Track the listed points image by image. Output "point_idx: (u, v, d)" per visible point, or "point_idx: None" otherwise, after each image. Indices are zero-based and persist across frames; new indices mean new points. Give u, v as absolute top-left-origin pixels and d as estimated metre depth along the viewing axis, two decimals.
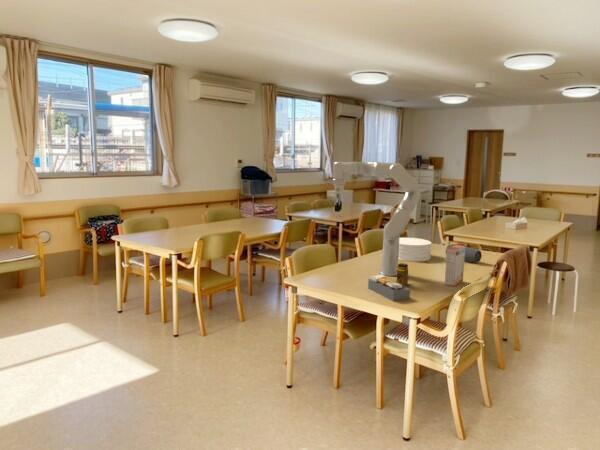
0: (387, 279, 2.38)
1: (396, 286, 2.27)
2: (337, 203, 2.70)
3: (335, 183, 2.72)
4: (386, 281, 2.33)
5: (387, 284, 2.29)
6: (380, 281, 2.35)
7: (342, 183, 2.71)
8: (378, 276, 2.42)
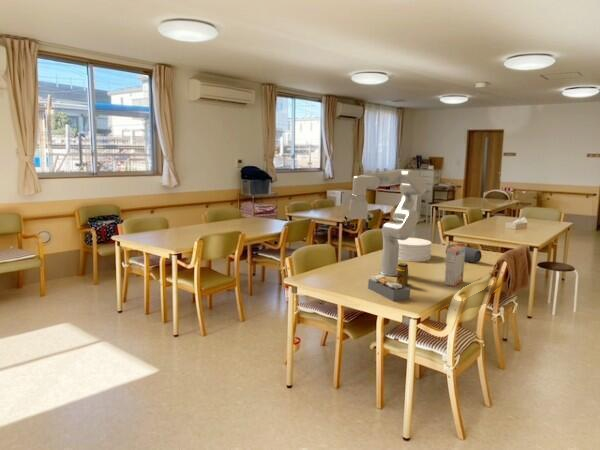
0: (387, 279, 2.38)
1: (396, 286, 2.27)
2: None
3: None
4: (386, 281, 2.33)
5: (387, 284, 2.29)
6: (380, 281, 2.35)
7: (354, 199, 2.51)
8: (378, 276, 2.42)
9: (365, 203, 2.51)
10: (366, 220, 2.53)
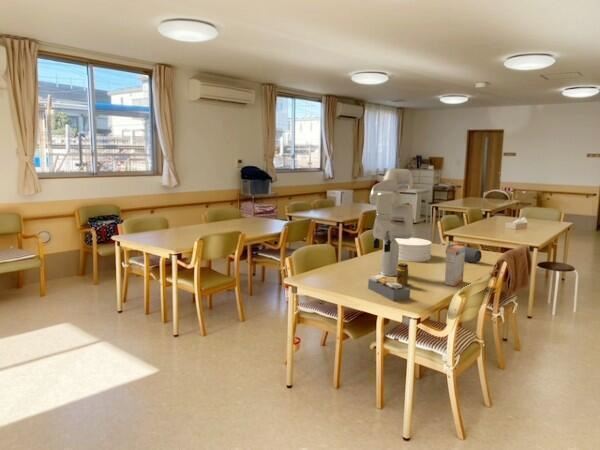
0: (387, 279, 2.38)
1: (396, 286, 2.27)
2: None
3: None
4: (386, 281, 2.33)
5: (387, 284, 2.29)
6: (380, 281, 2.35)
7: None
8: (378, 276, 2.42)
9: (383, 222, 2.27)
10: (385, 242, 2.28)
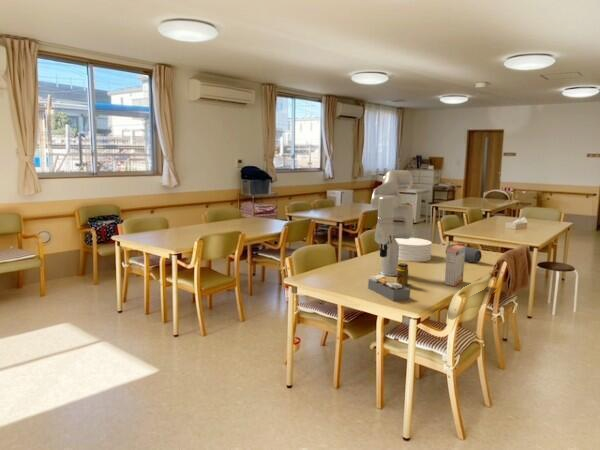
0: (387, 279, 2.38)
1: (396, 286, 2.27)
2: None
3: None
4: (386, 281, 2.33)
5: (387, 284, 2.29)
6: (380, 281, 2.35)
7: None
8: (378, 276, 2.42)
9: (384, 227, 2.26)
10: (382, 246, 2.30)
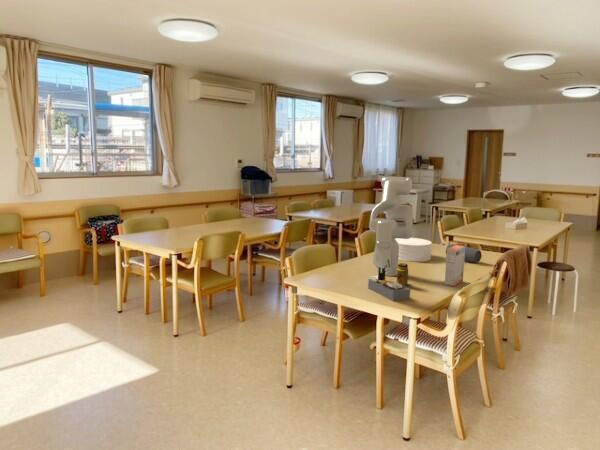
0: (387, 279, 2.38)
1: (396, 286, 2.27)
2: None
3: None
4: (386, 281, 2.33)
5: (387, 284, 2.29)
6: (380, 281, 2.35)
7: None
8: None
9: (382, 251, 2.28)
10: (380, 270, 2.32)
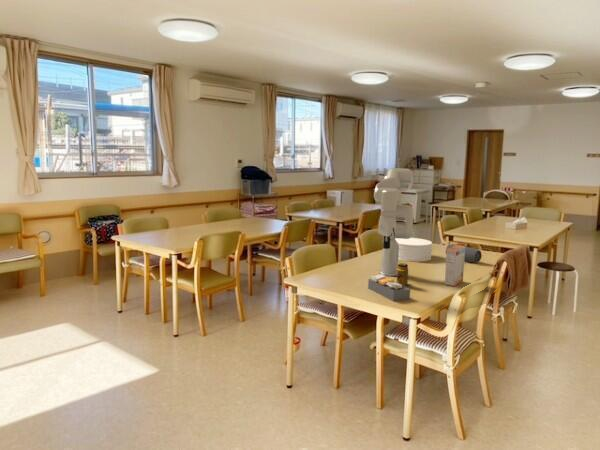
0: (386, 278, 2.37)
1: (396, 286, 2.27)
2: None
3: None
4: (385, 282, 2.33)
5: (387, 284, 2.29)
6: (380, 283, 2.35)
7: None
8: (378, 276, 2.42)
9: (387, 219, 2.31)
10: (385, 238, 2.36)
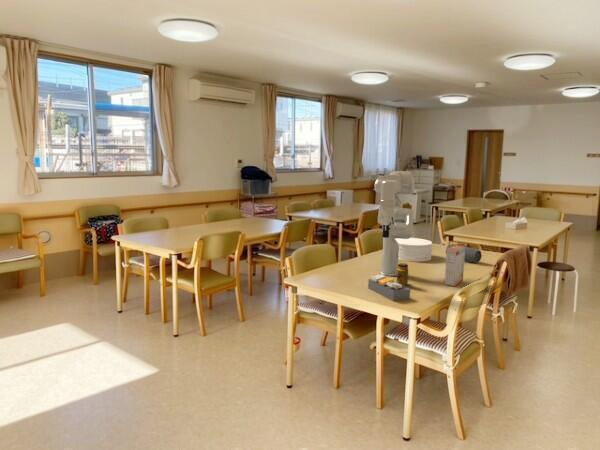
0: (386, 278, 2.37)
1: (396, 286, 2.27)
2: None
3: None
4: (385, 282, 2.33)
5: (387, 284, 2.29)
6: (380, 283, 2.35)
7: None
8: (378, 276, 2.42)
9: (387, 209, 2.41)
10: (385, 227, 2.45)
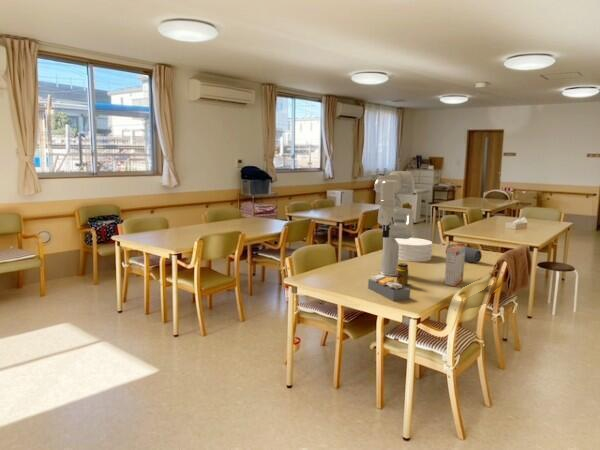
0: (386, 278, 2.37)
1: (396, 286, 2.27)
2: None
3: None
4: (385, 282, 2.33)
5: (387, 284, 2.29)
6: (380, 283, 2.35)
7: None
8: (378, 276, 2.42)
9: (387, 209, 2.41)
10: (385, 227, 2.45)
